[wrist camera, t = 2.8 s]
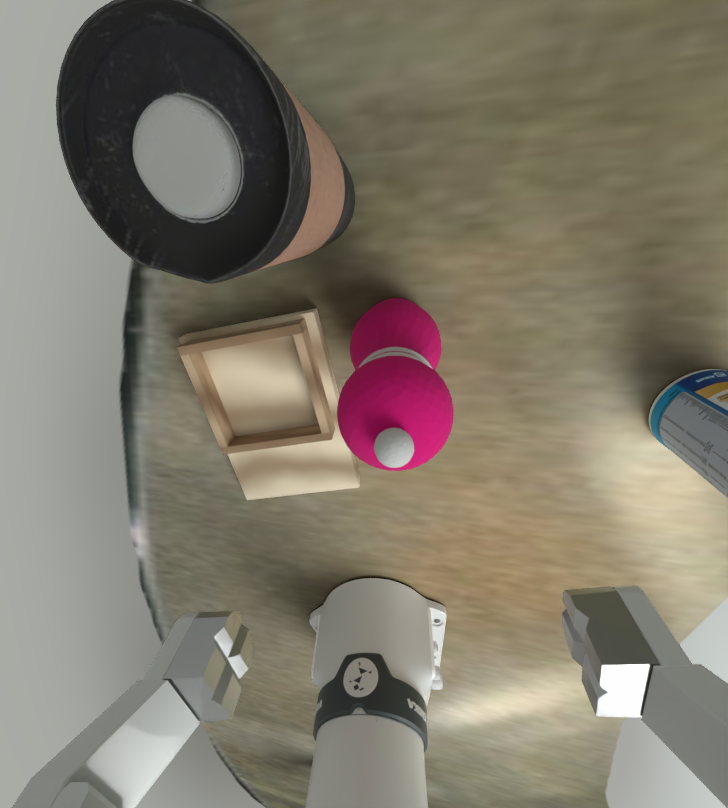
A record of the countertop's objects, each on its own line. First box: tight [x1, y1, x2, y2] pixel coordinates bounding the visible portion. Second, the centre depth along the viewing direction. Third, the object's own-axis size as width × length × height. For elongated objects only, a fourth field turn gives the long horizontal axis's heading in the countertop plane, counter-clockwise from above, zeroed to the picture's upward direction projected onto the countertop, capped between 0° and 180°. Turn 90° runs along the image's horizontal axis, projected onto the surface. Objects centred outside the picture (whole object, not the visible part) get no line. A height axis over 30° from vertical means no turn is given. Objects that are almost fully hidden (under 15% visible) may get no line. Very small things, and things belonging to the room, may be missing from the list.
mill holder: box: [177, 308, 361, 500], centre depth 36 cm, size 19×13×4 cm
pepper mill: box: [337, 298, 453, 471], centre depth 24 cm, size 7×7×20 cm
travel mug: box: [56, 0, 355, 284], centre depth 20 cm, size 8×8×20 cm
